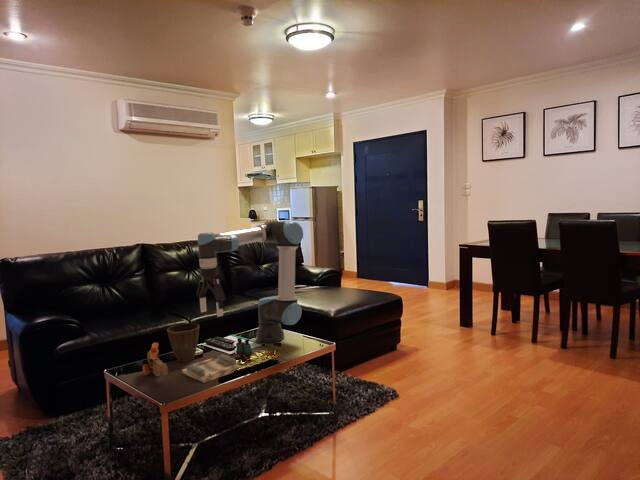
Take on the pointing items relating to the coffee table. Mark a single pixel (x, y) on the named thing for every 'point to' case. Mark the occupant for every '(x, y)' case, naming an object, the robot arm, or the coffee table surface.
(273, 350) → the coffee table surface
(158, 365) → the toy helicopter
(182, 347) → the plant pot
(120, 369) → the coffee table surface
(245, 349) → the binoculars
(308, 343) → the coffee table surface
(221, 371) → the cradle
